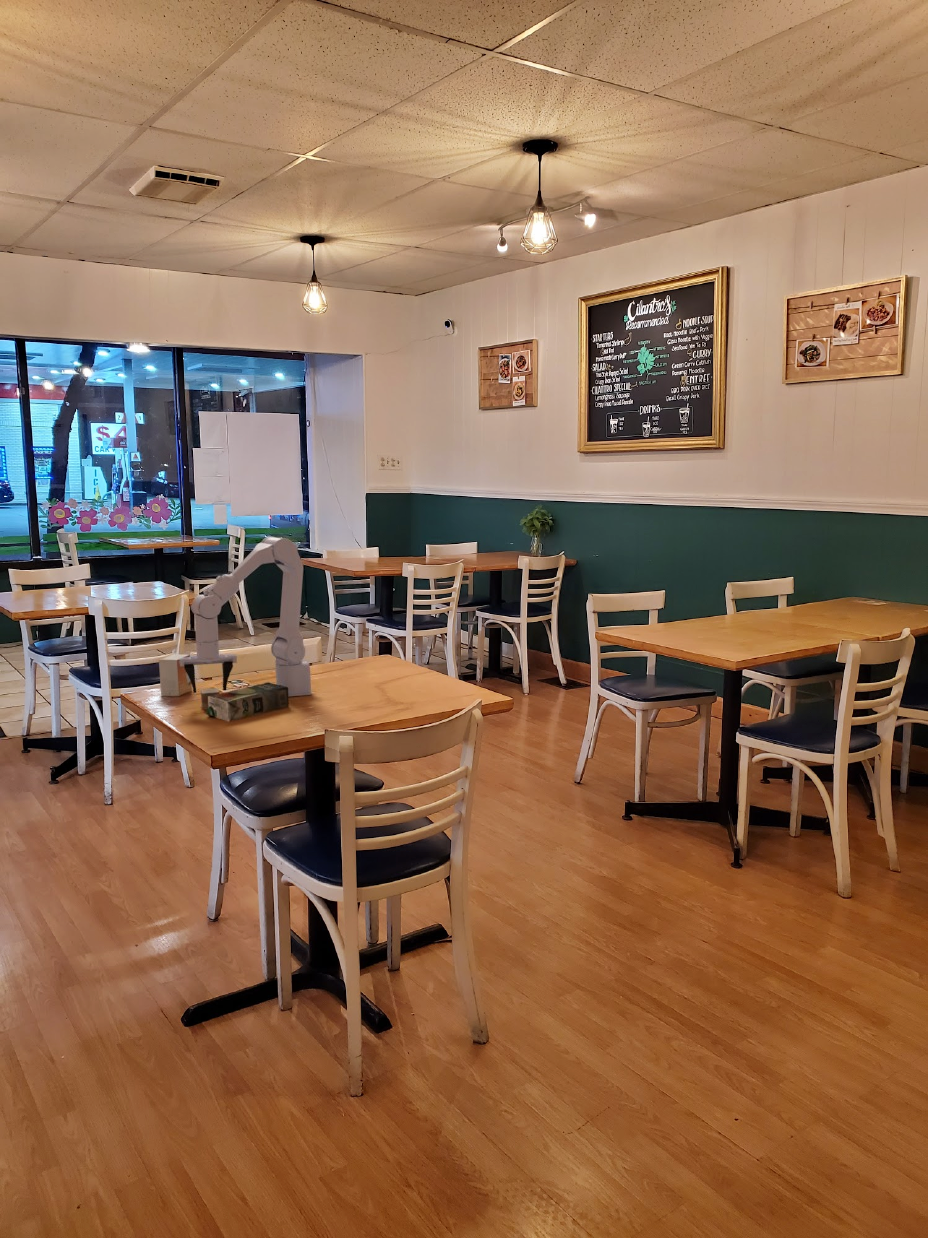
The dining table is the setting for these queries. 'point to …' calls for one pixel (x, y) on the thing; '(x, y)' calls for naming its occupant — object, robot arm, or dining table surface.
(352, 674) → the dining table surface
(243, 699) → the juice carton
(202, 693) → the greyish beige block
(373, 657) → the dining table surface
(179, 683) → the small box
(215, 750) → the dining table surface
